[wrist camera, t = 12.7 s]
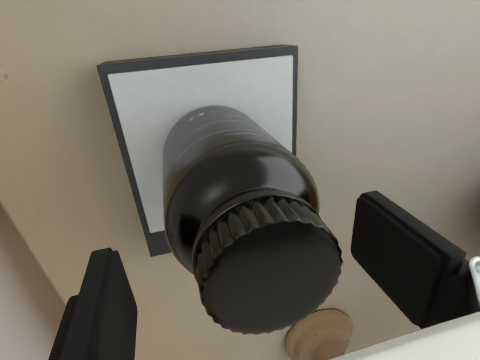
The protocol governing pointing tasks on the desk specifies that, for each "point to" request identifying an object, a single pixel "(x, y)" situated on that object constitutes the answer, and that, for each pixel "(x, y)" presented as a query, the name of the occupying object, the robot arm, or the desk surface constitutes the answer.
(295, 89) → the scale
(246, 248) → the supplement bottle
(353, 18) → the desk surface
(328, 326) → the candle holder
